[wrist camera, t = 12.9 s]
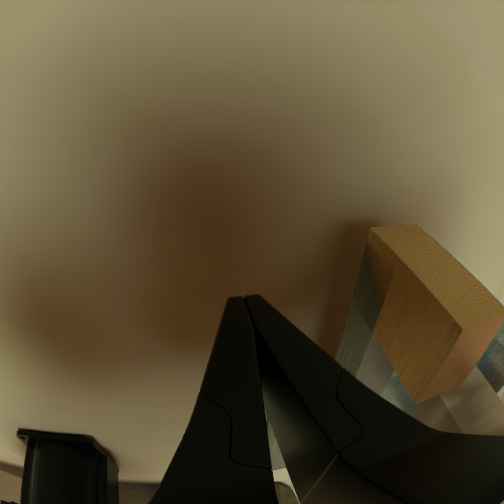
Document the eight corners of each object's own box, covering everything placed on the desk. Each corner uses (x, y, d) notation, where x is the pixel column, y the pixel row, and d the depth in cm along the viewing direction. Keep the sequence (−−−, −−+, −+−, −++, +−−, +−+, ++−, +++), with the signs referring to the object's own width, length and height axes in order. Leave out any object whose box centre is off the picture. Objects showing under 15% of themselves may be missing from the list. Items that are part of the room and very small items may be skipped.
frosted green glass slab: (263, 455, 22) (275, 503, 18) (273, 383, 16) (296, 456, 12) (450, 396, 25) (470, 429, 22) (502, 317, 20) (533, 353, 16)
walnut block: (407, 419, 21) (467, 543, 10) (432, 384, 18) (510, 525, 8) (449, 400, 22) (510, 509, 11) (476, 365, 19) (550, 485, 9)
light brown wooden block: (293, 467, 21) (309, 518, 17) (369, 227, 10) (463, 329, 6) (318, 461, 21) (335, 510, 17) (416, 224, 10) (508, 311, 6)
